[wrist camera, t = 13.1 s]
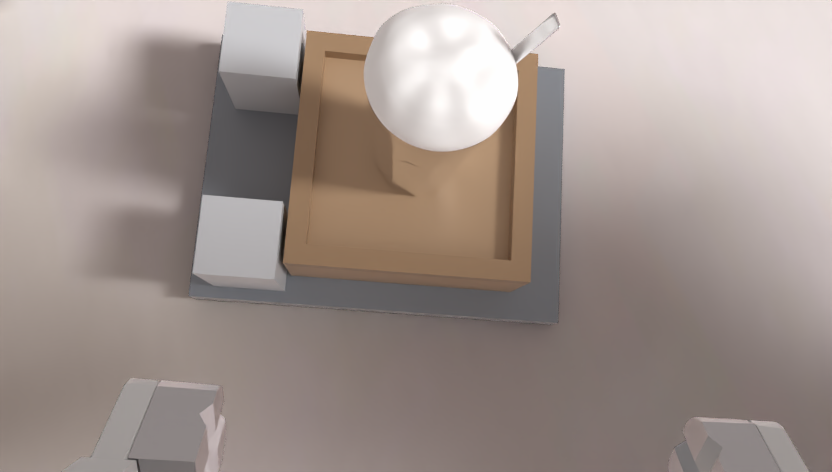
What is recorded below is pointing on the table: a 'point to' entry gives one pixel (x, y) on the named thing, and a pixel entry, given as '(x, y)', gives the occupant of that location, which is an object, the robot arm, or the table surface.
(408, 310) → the baseplate
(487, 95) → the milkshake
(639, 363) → the table surface
